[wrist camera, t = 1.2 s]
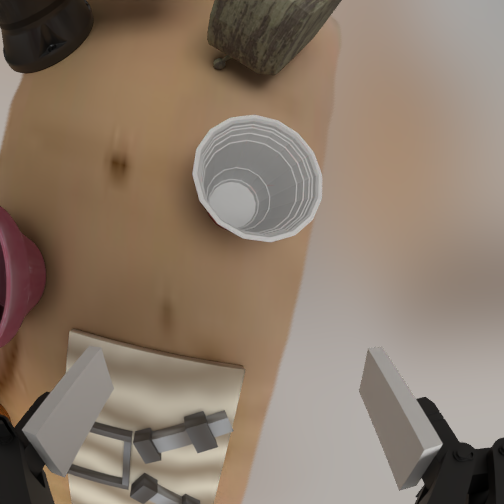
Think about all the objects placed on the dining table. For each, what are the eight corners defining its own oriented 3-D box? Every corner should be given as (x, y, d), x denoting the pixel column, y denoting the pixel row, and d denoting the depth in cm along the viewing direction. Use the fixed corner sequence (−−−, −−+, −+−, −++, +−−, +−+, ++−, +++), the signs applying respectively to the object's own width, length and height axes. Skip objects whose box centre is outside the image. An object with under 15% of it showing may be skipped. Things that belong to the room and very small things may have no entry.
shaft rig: (69, 327, 29) (55, 335, 24) (242, 365, 34) (252, 378, 29) (71, 505, 26) (66, 522, 21) (203, 529, 30) (208, 548, 26)
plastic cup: (296, 201, 36) (348, 173, 25) (239, 271, 34) (273, 272, 22) (228, 141, 35) (254, 88, 23) (166, 207, 32) (162, 175, 21)
